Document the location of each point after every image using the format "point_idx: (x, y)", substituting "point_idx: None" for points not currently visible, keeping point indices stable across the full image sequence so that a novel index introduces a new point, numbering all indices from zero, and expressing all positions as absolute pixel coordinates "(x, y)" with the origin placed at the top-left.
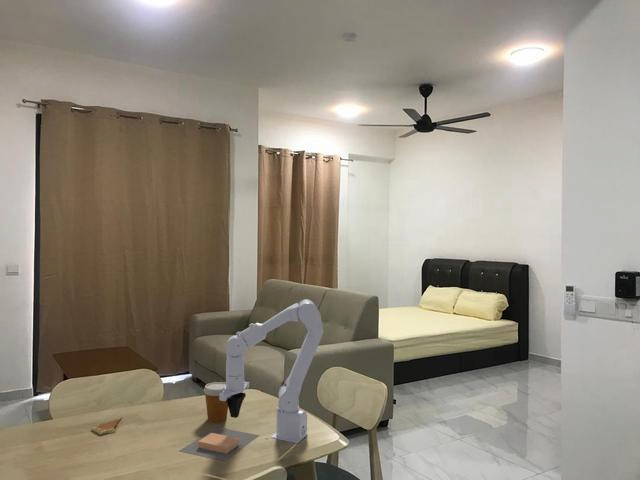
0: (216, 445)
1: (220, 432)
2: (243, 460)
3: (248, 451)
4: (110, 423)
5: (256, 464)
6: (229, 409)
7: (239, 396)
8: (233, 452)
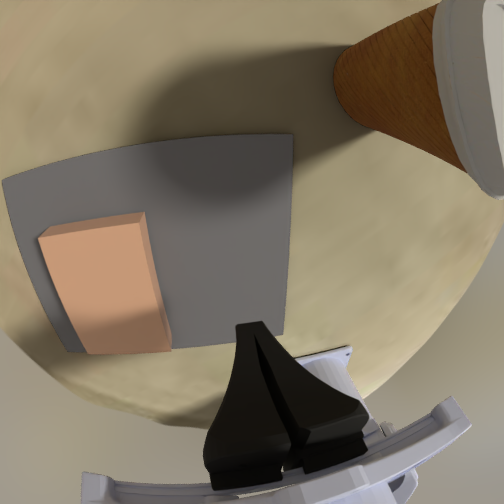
0: (71, 321)
1: (238, 192)
2: (114, 375)
3: (163, 362)
4: None
5: (124, 398)
6: (234, 361)
7: (285, 466)
8: None
